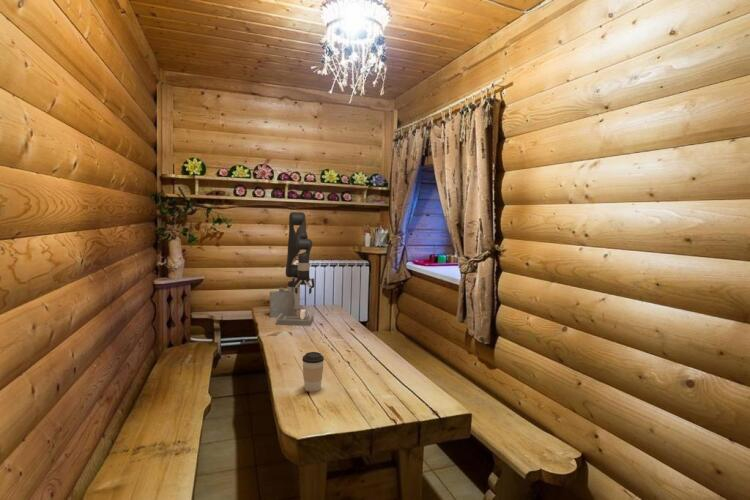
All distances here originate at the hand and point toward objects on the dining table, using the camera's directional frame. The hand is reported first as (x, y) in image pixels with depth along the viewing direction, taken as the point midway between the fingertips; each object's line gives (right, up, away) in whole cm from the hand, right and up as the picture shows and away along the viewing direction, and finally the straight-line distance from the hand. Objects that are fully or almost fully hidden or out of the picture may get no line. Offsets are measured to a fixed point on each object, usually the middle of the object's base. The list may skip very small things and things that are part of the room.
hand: (303, 293), depth 273 cm
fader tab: (-1, -16, +2) cm, 16 cm away
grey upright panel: (-19, -18, +18) cm, 31 cm away
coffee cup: (+21, -30, -98) cm, 104 cm away
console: (-6, -19, +2) cm, 20 cm away
